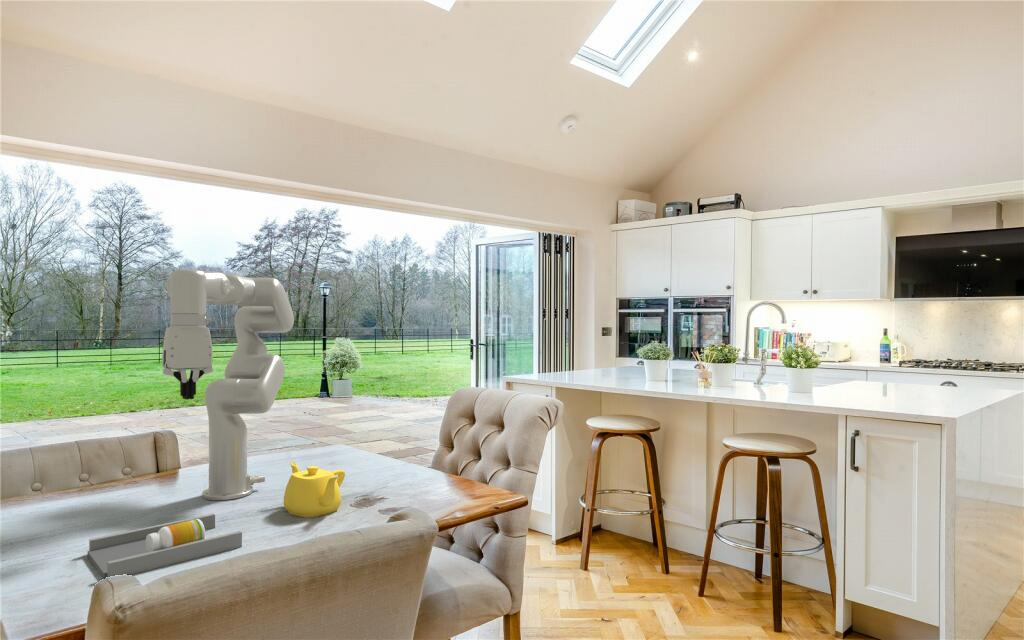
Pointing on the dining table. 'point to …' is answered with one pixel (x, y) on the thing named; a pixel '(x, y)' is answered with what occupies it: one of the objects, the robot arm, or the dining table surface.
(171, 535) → the supplement bottle
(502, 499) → the dining table surface
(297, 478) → the teapot
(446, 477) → the dining table surface
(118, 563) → the grey channel
